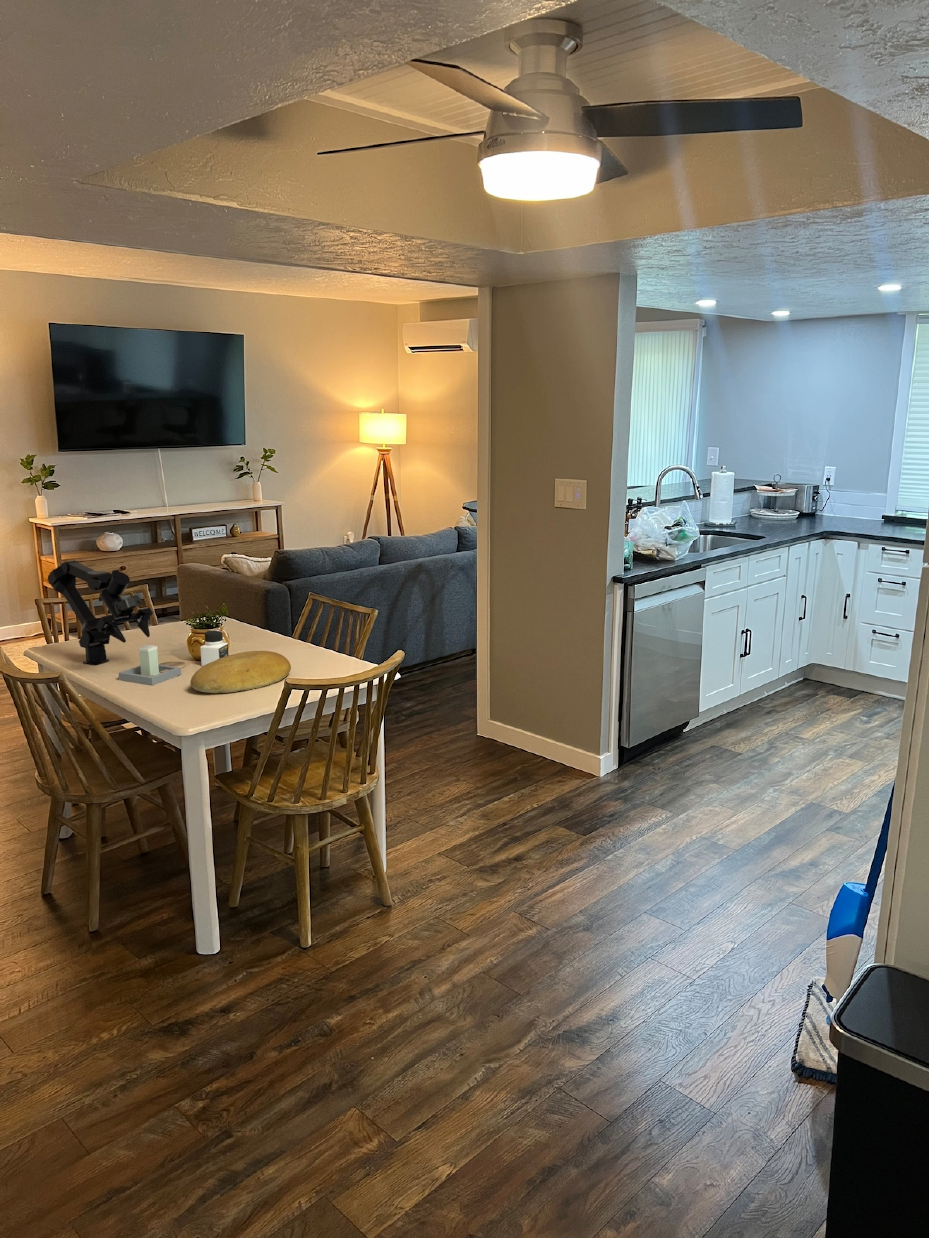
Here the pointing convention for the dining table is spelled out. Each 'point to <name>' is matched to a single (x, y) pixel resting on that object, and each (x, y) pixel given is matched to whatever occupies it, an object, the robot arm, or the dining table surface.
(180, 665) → the coaster
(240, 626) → the dining table surface
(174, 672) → the grey square frame
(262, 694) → the dining table surface
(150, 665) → the tall square-topped block
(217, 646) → the medicine bottle
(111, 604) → the robot arm
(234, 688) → the bread
